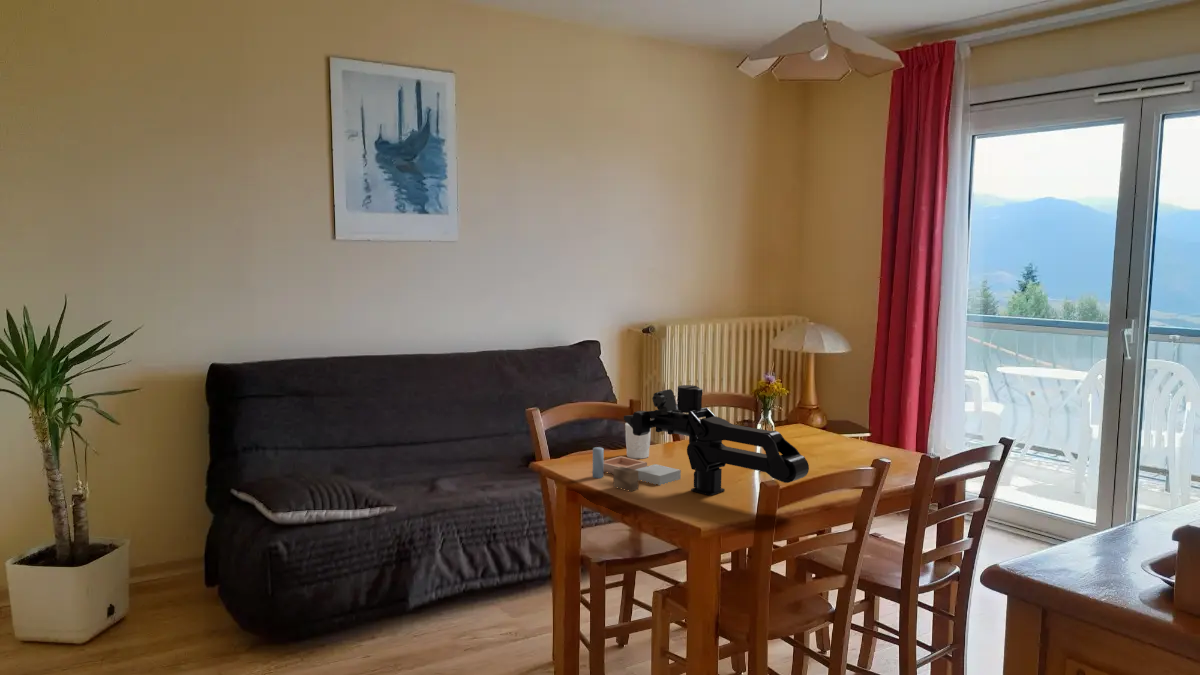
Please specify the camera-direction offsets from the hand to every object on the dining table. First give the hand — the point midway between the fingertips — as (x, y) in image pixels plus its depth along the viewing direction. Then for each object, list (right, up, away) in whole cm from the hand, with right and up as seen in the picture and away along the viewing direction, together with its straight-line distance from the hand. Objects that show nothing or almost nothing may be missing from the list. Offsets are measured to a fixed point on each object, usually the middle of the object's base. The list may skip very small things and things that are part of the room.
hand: (635, 415), depth 228 cm
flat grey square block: (+6, -18, -4) cm, 19 cm away
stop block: (-3, -18, -14) cm, 23 cm away
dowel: (-10, -17, -2) cm, 20 cm away
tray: (-3, -16, +5) cm, 17 cm away
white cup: (+2, -15, +22) cm, 26 cm away
